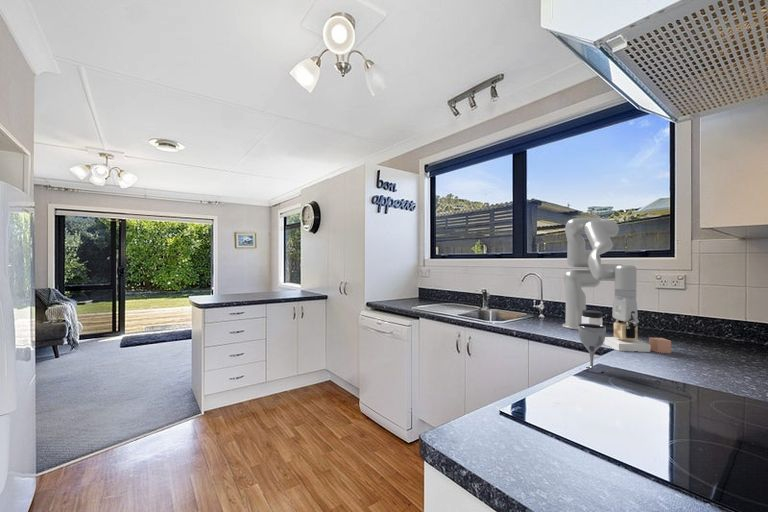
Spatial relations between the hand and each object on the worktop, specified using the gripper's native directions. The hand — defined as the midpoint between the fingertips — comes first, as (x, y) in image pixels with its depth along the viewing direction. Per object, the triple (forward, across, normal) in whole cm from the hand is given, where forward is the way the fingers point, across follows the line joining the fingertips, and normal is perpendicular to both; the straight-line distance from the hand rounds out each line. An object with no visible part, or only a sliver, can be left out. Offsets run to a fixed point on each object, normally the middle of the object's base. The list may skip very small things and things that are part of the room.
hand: (625, 335), depth 141 cm
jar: (+5, -21, -3) cm, 22 cm away
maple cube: (+1, 0, 0) cm, 1 cm away
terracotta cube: (+5, +4, +11) cm, 13 cm away
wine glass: (+5, +32, -30) cm, 44 cm away
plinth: (+5, 0, 0) cm, 5 cm away
